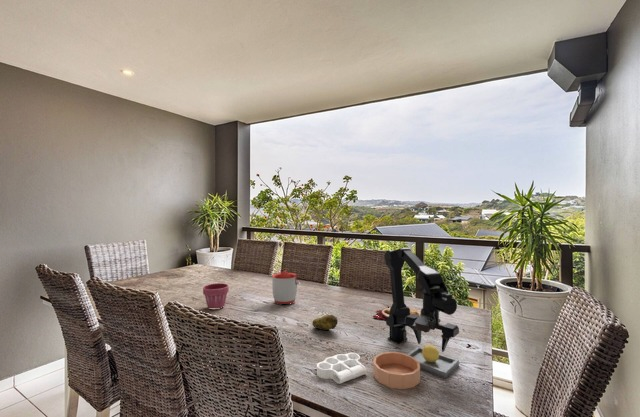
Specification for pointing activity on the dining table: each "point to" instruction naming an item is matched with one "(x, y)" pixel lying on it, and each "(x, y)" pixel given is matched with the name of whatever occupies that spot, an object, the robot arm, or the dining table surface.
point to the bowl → (396, 370)
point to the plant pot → (215, 294)
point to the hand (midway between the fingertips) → (430, 347)
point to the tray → (435, 363)
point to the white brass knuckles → (341, 367)
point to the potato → (325, 322)
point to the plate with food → (386, 312)
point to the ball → (430, 353)
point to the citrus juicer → (284, 287)
